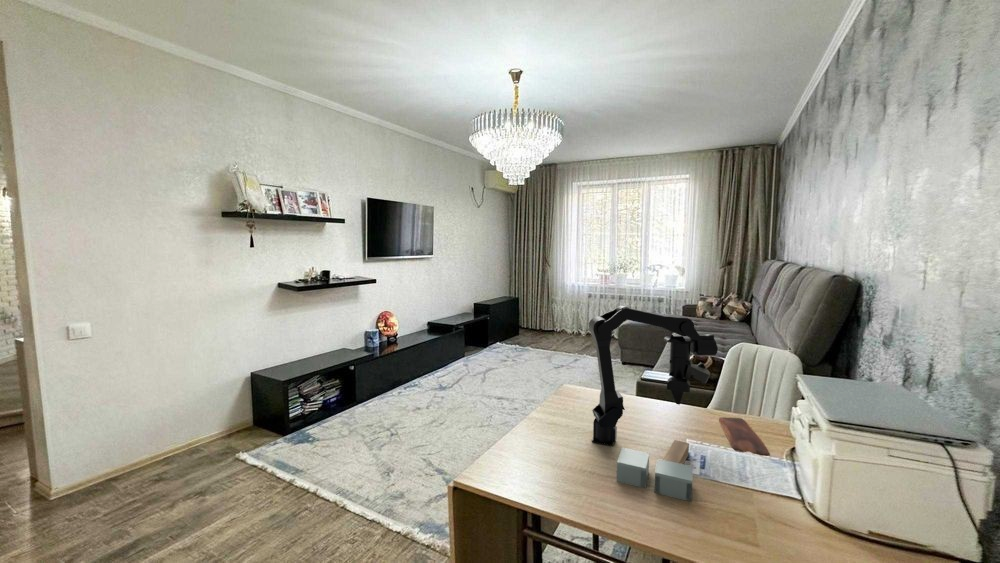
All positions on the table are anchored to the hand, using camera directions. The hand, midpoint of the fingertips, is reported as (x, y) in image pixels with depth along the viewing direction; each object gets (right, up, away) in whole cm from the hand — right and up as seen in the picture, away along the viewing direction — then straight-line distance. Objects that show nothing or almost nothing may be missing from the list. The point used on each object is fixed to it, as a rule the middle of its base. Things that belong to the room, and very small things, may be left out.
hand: (678, 404), depth 126 cm
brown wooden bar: (-6, -13, -12) cm, 19 cm away
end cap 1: (-21, -14, -19) cm, 31 cm away
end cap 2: (-12, -14, -25) cm, 31 cm away
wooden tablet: (+23, -12, +5) cm, 27 cm away
